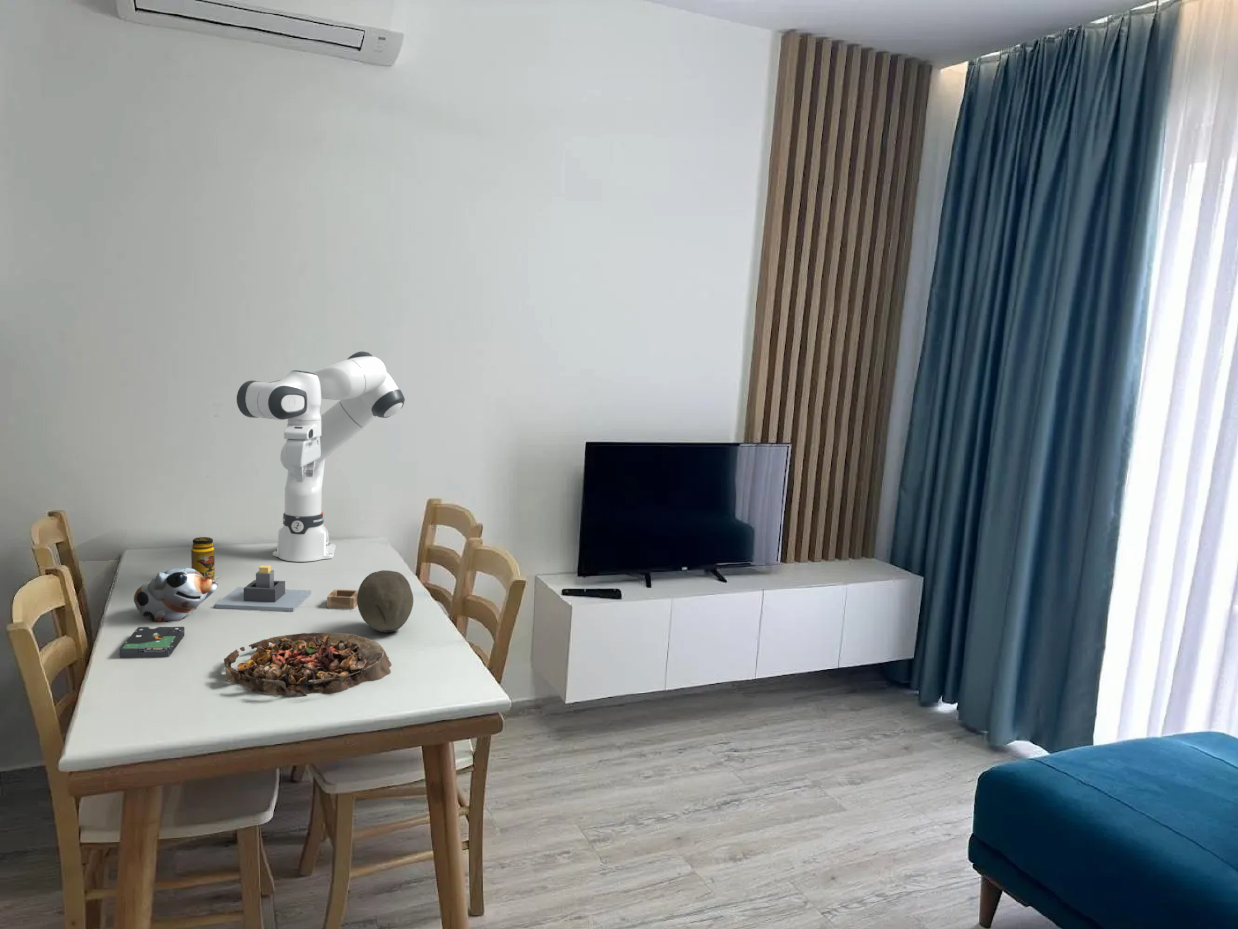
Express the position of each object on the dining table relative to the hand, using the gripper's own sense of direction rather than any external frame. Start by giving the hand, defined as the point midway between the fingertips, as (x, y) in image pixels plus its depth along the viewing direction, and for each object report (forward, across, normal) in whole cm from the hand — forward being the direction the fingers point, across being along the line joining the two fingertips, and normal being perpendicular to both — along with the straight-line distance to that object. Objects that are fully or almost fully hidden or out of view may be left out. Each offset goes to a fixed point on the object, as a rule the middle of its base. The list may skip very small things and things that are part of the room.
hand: (305, 479), depth 259 cm
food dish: (+33, +60, +18) cm, 71 cm away
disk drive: (+32, +50, -20) cm, 63 cm away
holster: (+32, +13, +14) cm, 37 cm away
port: (+31, +13, -7) cm, 35 cm away
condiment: (+31, -4, -31) cm, 44 cm away
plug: (+30, +13, -7) cm, 34 cm away
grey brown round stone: (+32, +32, +28) cm, 54 cm away
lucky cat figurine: (+31, +27, -25) cm, 48 cm away
